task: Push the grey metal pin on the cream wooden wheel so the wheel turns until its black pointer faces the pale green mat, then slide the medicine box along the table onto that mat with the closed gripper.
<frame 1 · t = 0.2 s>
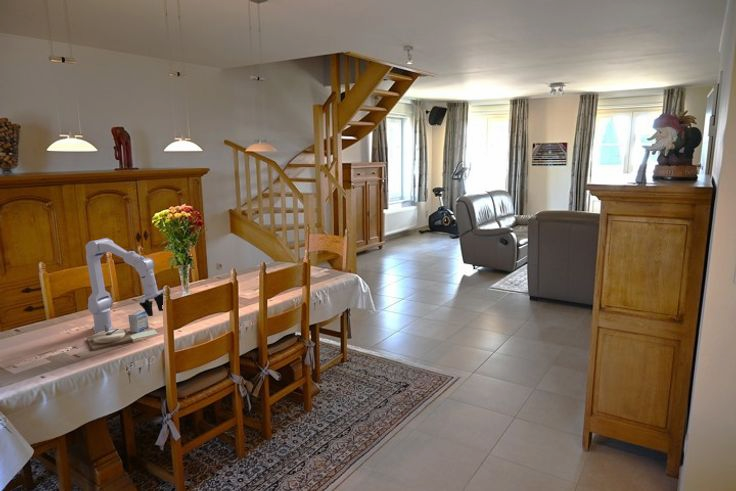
hand: (156, 313, 226), 10 cm above the table, tool pointing down, fingers open, 7 cm apart
medicine box: (139, 330, 235), on the table, touching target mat
index wheel: (108, 332, 220), point 4 cm above the table, hinge at 0.0°
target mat: (143, 334, 229), on the table
base board: (109, 340, 221), on the table
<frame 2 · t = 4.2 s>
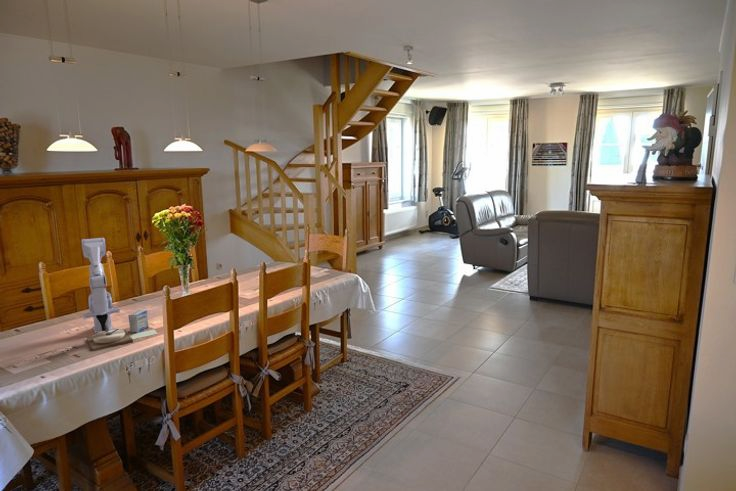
hand: (103, 330, 223), 4 cm above the table, tool pointing down, fingers closed, pressing on index wheel
index wheel: (108, 332, 220), point 4 cm above the table, hinge at 0.9°, touching gripper
everything else where it was.
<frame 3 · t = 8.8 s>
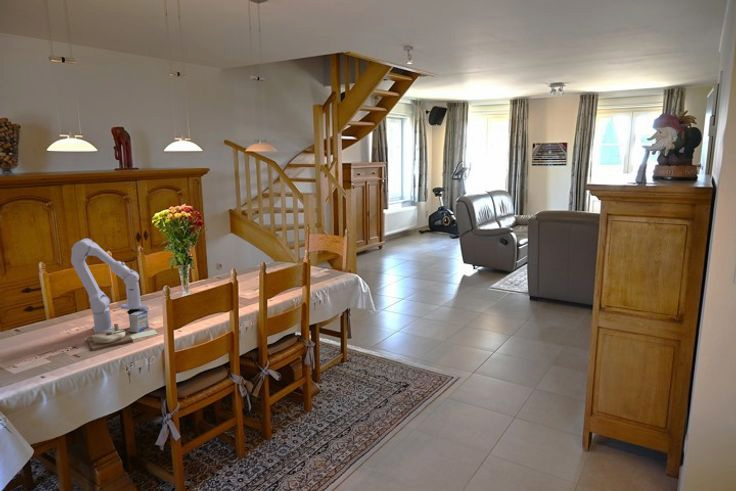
hand: (136, 323, 239), 1 cm above the table, tool pointing down, fingers closed
index wheel: (108, 332, 220), point 4 cm above the table, hinge at 48.5°
everything else where it was.
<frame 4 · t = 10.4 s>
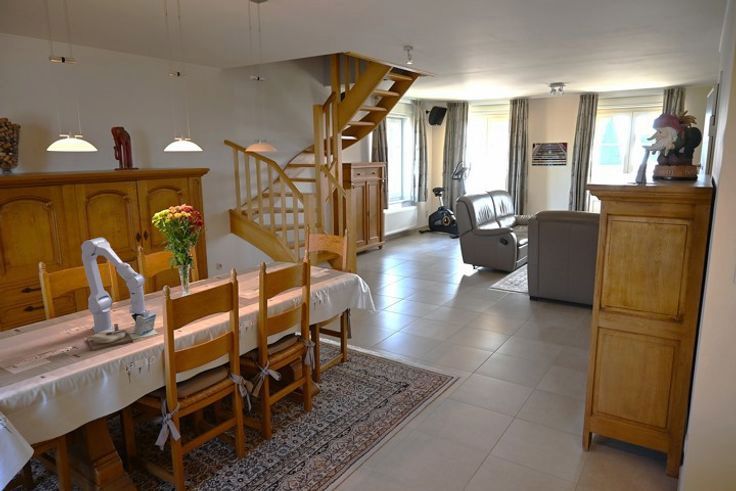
hand: (140, 328, 233), 1 cm above the table, tool pointing down, fingers closed, pressing on medicine box
medicine box: (143, 331, 231), point 1 cm above the table, touching gripper
everything else where it was.
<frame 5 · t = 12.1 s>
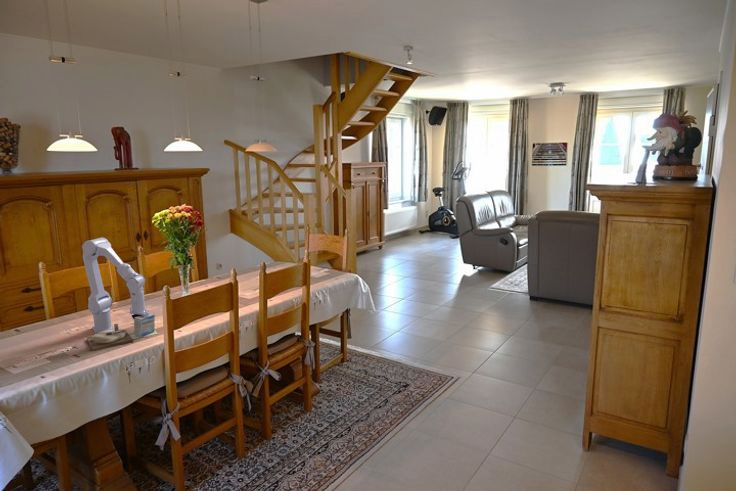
hand: (140, 328, 232), 1 cm above the table, tool pointing down, fingers closed
medicine box: (144, 333, 229), resting on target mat, touching gripper
everything else where it was.
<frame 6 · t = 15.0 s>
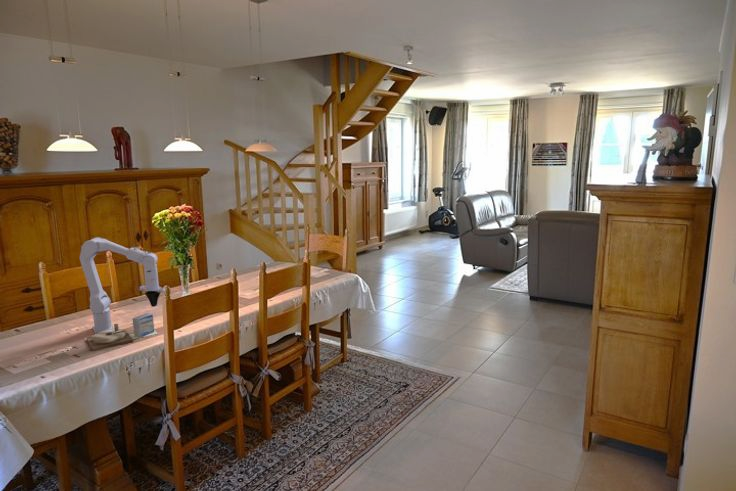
hand: (154, 306, 237), 10 cm above the table, tool pointing down, fingers closed
medicine box: (144, 334, 229), resting on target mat
everything else where it was.
at the end: index wheel at +48° (first picture: +0°); medicine box inside the target area (0.5 cm from its centre), resting on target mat; medicine box tilted 0° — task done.
